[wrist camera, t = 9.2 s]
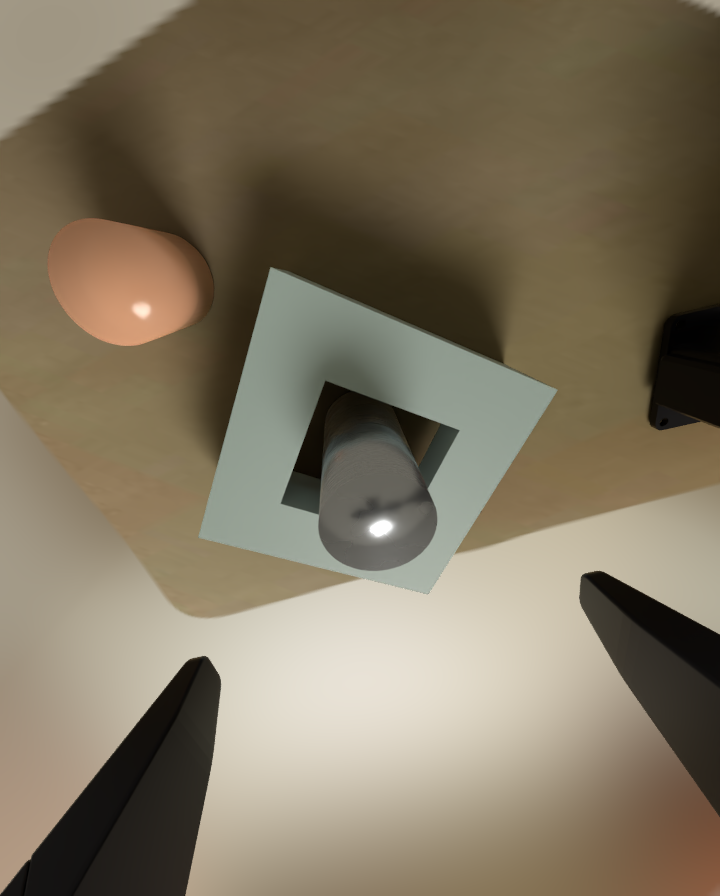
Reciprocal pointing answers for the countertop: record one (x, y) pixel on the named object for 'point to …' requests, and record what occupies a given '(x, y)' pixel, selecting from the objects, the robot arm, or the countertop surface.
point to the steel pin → (371, 488)
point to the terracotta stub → (128, 280)
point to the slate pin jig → (377, 376)
